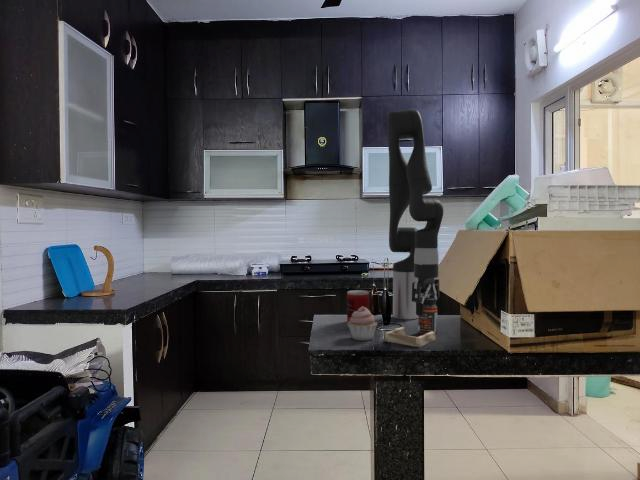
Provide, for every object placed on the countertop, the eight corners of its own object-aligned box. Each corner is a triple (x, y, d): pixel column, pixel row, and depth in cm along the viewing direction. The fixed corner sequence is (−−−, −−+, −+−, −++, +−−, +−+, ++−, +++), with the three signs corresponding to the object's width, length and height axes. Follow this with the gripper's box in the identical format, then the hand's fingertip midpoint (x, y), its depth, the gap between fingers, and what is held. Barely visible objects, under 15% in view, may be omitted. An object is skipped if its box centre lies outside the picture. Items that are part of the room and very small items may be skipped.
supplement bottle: (416, 335, 158) (416, 299, 158) (419, 331, 164) (419, 296, 163) (435, 336, 156) (436, 300, 156) (438, 332, 162) (438, 297, 161)
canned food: (372, 321, 179) (372, 290, 178) (363, 325, 172) (362, 293, 171) (353, 319, 183) (353, 289, 182) (343, 323, 176) (343, 292, 175)
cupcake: (342, 340, 151) (342, 307, 151) (353, 334, 160) (353, 302, 159) (372, 343, 148) (372, 309, 147) (381, 336, 156) (381, 304, 156)
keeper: (401, 334, 158) (401, 327, 158) (435, 340, 151) (435, 331, 151) (385, 341, 150) (385, 332, 150) (419, 347, 143) (419, 338, 143)
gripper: (425, 260, 167) (425, 309, 167) (404, 263, 156) (404, 315, 156) (447, 261, 162) (446, 311, 162) (426, 264, 151) (426, 318, 151)
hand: (426, 313), depth 159 cm, fingers open, 8 cm apart
